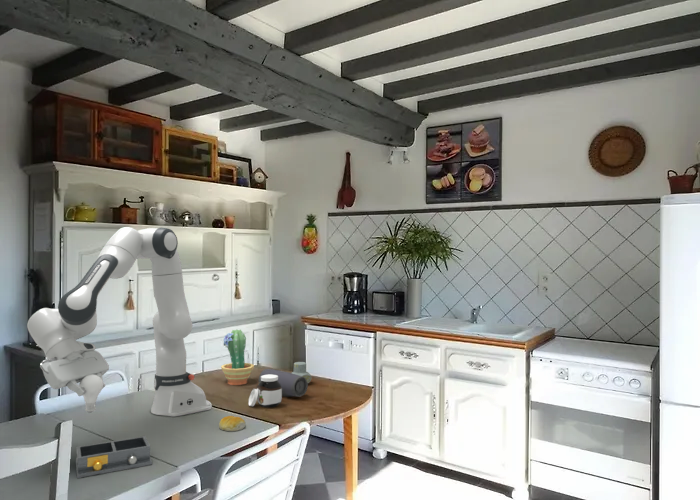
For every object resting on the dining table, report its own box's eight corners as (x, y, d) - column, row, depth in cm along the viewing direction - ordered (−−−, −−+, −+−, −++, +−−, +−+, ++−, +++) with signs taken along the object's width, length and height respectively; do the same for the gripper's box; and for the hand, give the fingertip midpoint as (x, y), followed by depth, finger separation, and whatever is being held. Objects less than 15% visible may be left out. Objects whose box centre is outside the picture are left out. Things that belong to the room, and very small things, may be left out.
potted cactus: (223, 379, 247) (223, 327, 248) (255, 378, 249) (255, 327, 249) (218, 387, 232) (219, 332, 232) (252, 386, 234) (253, 332, 234)
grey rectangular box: (145, 450, 156) (145, 435, 156) (151, 464, 145) (152, 449, 145) (75, 462, 146) (76, 446, 146) (77, 478, 136) (77, 461, 136)
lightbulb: (92, 416, 145) (93, 377, 146) (72, 414, 147) (74, 376, 147) (107, 410, 152) (108, 373, 152) (88, 408, 153) (90, 371, 153)
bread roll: (230, 422, 183) (230, 411, 183) (249, 427, 179) (249, 415, 179) (213, 428, 176) (213, 417, 177) (231, 433, 172) (232, 422, 172)
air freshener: (303, 380, 246) (303, 360, 246) (314, 384, 240) (314, 362, 240) (285, 384, 239) (285, 363, 239) (295, 387, 232) (295, 366, 233)
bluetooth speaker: (308, 397, 217) (309, 373, 217) (292, 401, 210) (293, 377, 210) (273, 388, 232) (273, 366, 232) (257, 392, 225) (257, 369, 225)
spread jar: (284, 405, 204) (284, 376, 204) (261, 412, 196) (262, 381, 196) (266, 400, 212) (266, 372, 212) (243, 405, 204) (243, 376, 204)
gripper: (44, 354, 141) (72, 392, 139) (97, 343, 161) (122, 376, 158) (30, 369, 142) (58, 407, 140) (84, 356, 162) (110, 389, 159)
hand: (93, 391), depth 149 cm, fingers closed on lightbulb, 6 cm apart
